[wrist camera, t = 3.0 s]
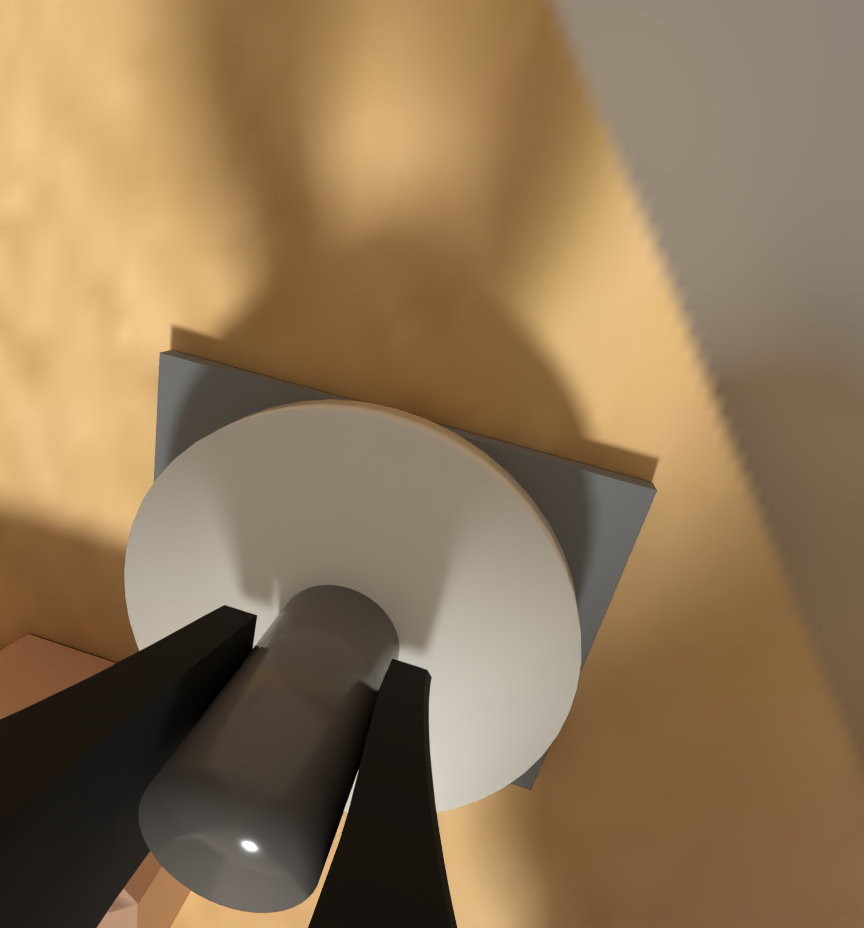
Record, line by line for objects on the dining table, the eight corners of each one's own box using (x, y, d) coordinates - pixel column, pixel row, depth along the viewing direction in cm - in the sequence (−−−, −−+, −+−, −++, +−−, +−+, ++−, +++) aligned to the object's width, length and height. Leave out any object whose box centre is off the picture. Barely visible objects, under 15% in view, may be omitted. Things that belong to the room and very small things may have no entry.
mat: (652, 482, 10) (657, 490, 10) (530, 775, 13) (531, 789, 13) (172, 350, 11) (159, 352, 11) (156, 652, 14) (145, 662, 14)
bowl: (232, 701, 14) (142, 828, 11) (207, 899, 17) (131, 1045, 14) (-53, 606, 15) (-217, 699, 12) (-28, 813, 18) (-153, 932, 15)
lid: (650, 478, 9) (762, 672, 5) (504, 833, 12) (487, 1151, 8) (160, 343, 10) (-149, 397, 5) (143, 710, 13) (-60, 935, 9)
